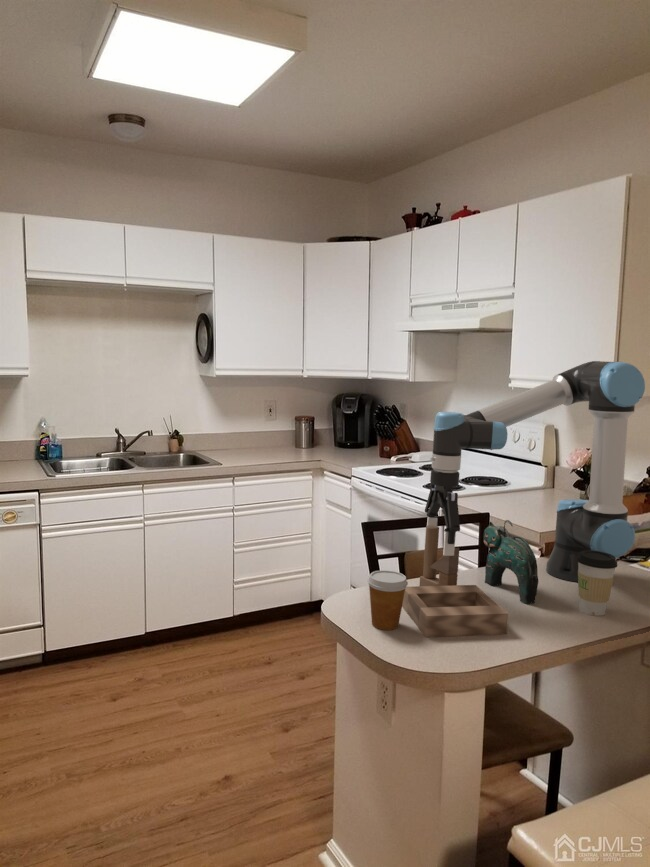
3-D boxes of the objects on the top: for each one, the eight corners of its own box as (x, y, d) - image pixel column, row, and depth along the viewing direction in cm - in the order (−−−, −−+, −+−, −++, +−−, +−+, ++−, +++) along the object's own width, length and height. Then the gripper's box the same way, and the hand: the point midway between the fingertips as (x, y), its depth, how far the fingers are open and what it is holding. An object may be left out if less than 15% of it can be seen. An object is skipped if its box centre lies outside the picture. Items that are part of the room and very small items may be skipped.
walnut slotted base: (474, 603, 174) (475, 584, 173) (506, 633, 155) (508, 613, 155) (401, 605, 170) (402, 586, 170) (425, 636, 152) (426, 616, 151)
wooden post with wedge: (446, 601, 174) (451, 535, 172) (418, 588, 183) (422, 525, 181) (456, 598, 177) (461, 533, 174) (428, 586, 185) (432, 523, 183)
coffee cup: (582, 601, 179) (587, 547, 177) (618, 612, 172) (624, 556, 170) (565, 609, 172) (570, 554, 170) (603, 621, 165) (608, 563, 163)
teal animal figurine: (478, 581, 192) (482, 513, 189) (496, 578, 194) (501, 512, 192) (523, 606, 173) (529, 532, 171) (542, 603, 176) (549, 530, 174)
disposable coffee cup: (358, 619, 160) (360, 571, 159) (392, 614, 164) (395, 568, 162) (376, 635, 151) (379, 585, 150) (412, 630, 155) (415, 581, 154)
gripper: (417, 461, 187) (411, 534, 190) (449, 478, 163) (442, 562, 165) (442, 462, 189) (436, 534, 191) (477, 479, 164) (470, 562, 167)
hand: (439, 547), depth 178 cm, fingers open, 13 cm apart
